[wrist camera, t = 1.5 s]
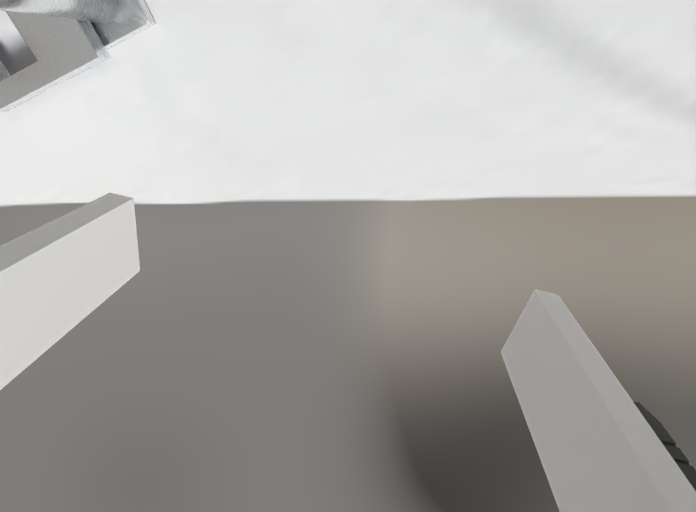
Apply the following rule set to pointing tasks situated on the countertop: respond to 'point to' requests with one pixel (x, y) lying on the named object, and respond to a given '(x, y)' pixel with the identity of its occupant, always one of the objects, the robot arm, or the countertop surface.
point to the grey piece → (66, 40)
